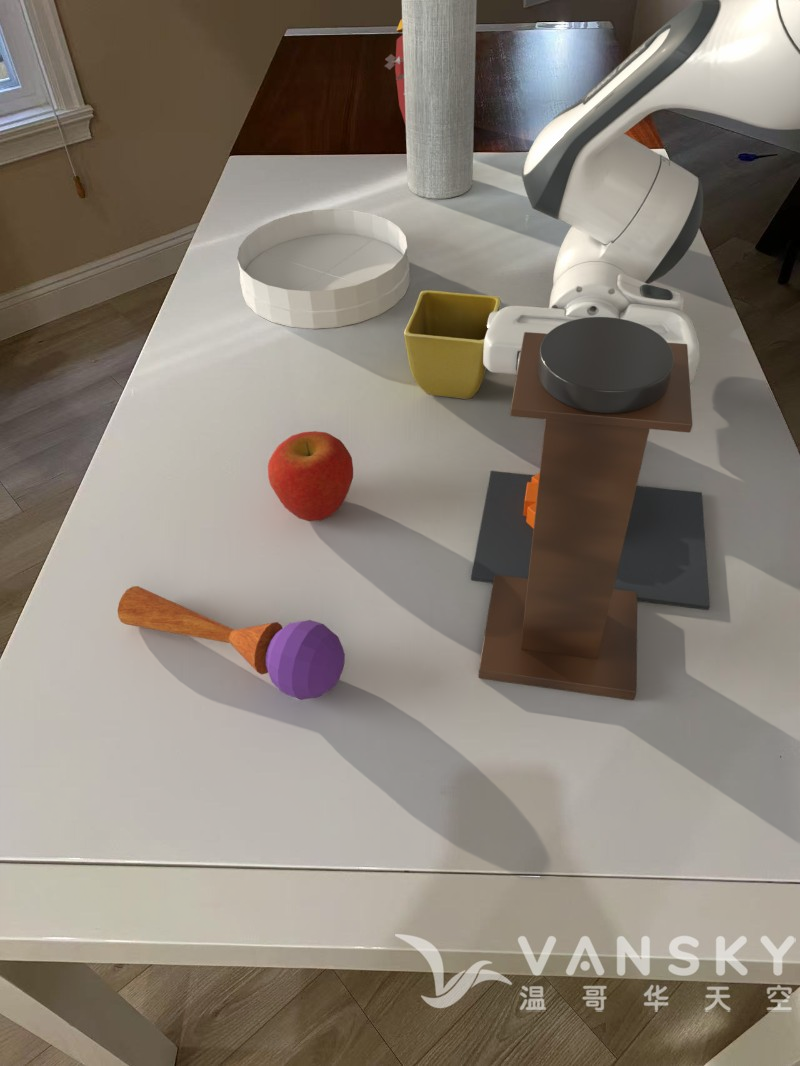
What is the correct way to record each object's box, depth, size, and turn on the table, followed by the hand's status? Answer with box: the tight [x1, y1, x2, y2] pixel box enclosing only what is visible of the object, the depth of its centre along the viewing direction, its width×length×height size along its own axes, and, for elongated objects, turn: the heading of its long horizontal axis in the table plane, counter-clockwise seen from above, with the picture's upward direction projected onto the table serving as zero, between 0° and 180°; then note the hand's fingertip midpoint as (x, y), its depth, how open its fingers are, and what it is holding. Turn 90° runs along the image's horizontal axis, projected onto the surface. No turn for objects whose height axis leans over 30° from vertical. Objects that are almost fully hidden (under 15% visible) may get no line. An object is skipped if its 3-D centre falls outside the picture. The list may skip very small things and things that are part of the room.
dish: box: [236, 208, 411, 330], centre depth 107 cm, size 22×22×5 cm
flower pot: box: [403, 290, 502, 400], centre depth 89 cm, size 9×9×9 cm
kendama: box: [117, 585, 346, 700], centre depth 66 cm, size 6×6×20 cm
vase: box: [401, 0, 478, 200], centre depth 118 cm, size 10×10×27 cm
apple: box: [267, 430, 354, 522], centre depth 77 cm, size 8×8×8 cm
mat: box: [470, 470, 711, 611], centre depth 75 cm, size 20×14×1 cm
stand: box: [478, 317, 693, 701], centre depth 58 cm, size 12×10×28 cm
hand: (585, 396), depth 75 cm, fingers open, 8 cm apart
